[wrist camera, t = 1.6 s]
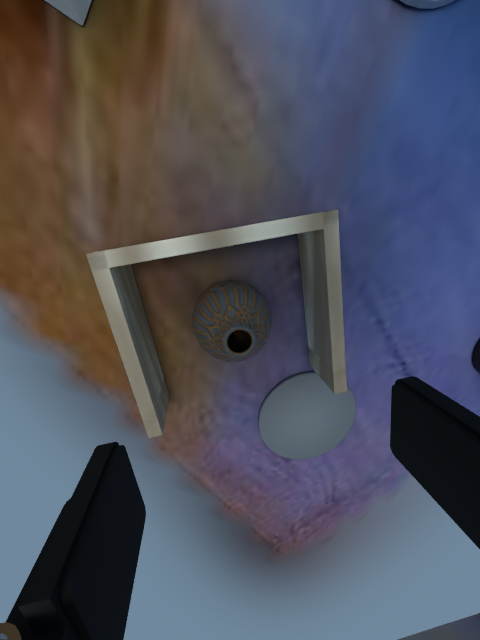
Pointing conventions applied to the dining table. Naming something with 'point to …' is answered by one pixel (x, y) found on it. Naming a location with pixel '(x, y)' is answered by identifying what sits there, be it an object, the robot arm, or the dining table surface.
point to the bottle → (477, 357)
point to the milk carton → (72, 8)
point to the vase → (231, 321)
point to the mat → (305, 417)
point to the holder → (313, 240)
